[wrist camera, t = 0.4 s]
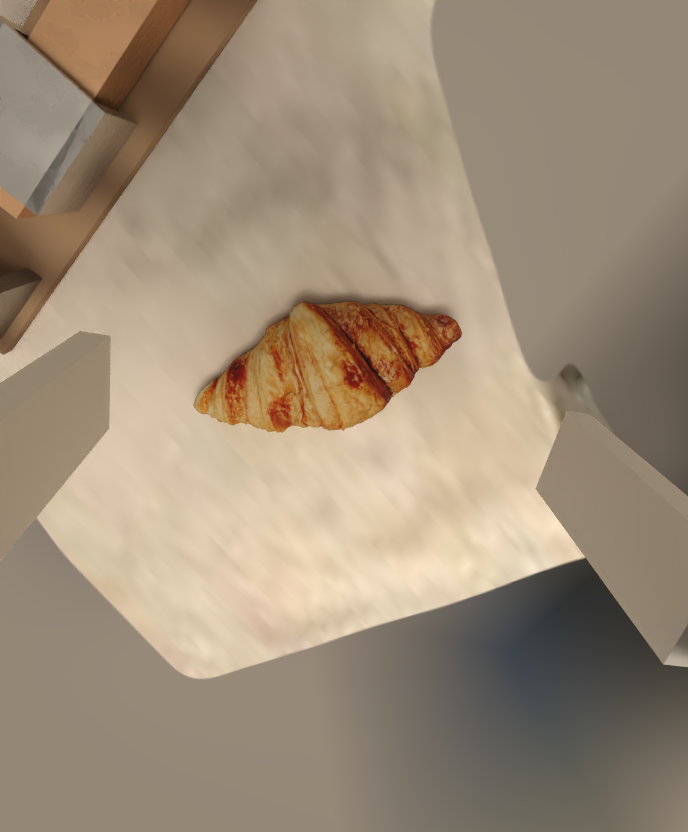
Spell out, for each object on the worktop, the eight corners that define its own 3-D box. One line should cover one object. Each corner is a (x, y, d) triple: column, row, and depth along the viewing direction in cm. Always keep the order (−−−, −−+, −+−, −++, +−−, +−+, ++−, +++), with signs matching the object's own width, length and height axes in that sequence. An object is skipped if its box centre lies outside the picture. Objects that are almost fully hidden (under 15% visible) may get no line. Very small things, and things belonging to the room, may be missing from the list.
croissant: (222, 412, 47) (225, 488, 42) (162, 335, 39) (158, 417, 34) (450, 337, 45) (482, 408, 40) (436, 240, 37) (474, 312, 32)
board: (152, -173, 29) (146, -187, 28) (279, -31, 32) (277, -39, 30) (-107, 268, 37) (-120, 271, 36) (12, 350, 40) (3, 354, 39)
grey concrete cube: (43, 39, 31) (-12, 9, 26) (137, 124, 33) (105, 112, 28) (-15, 136, 33) (-77, 126, 28) (78, 211, 35) (37, 215, 30)
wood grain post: (144, -145, 28) (94, -244, 22) (247, -32, 30) (230, -91, 24) (-32, 153, 33) (-114, 144, 27) (67, 231, 35) (13, 241, 29)
